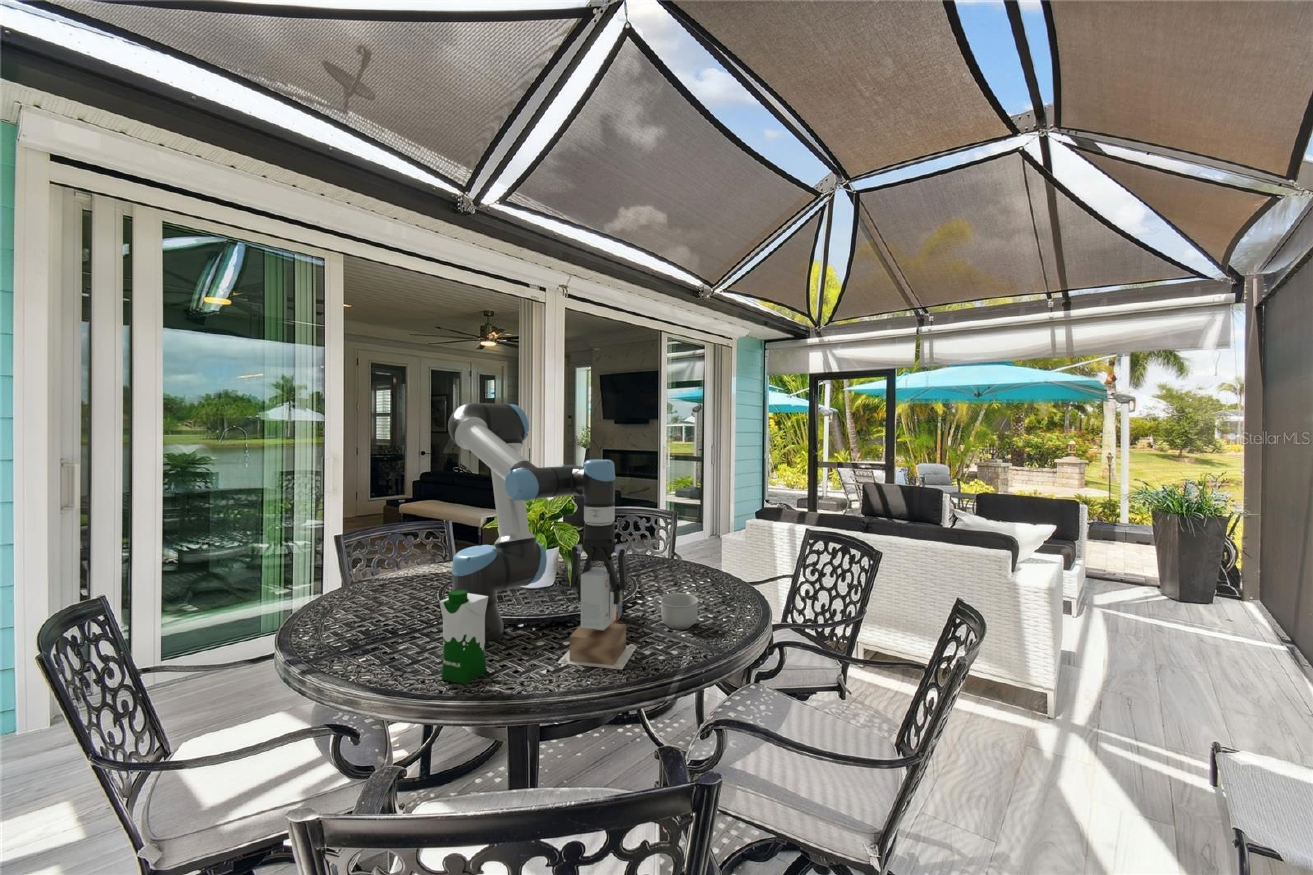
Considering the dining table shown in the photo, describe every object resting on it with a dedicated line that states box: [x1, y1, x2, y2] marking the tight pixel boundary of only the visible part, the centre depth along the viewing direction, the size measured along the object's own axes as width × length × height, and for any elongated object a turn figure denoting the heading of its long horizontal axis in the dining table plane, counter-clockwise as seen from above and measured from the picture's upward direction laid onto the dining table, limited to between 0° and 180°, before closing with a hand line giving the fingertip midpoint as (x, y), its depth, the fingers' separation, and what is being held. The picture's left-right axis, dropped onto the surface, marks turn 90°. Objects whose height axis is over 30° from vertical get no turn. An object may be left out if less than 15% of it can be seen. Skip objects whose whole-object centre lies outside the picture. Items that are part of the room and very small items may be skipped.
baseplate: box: [557, 643, 638, 670], centre depth 144 cm, size 16×14×2 cm
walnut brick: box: [569, 622, 627, 665], centre depth 144 cm, size 11×11×6 cm
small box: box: [580, 566, 617, 630], centre depth 144 cm, size 8×6×13 cm
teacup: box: [652, 592, 699, 631], centre depth 168 cm, size 14×11×8 cm
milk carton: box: [439, 590, 489, 685], centre depth 134 cm, size 9×9×20 cm
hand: (598, 615), depth 144 cm, fingers closed on small box, 7 cm apart
